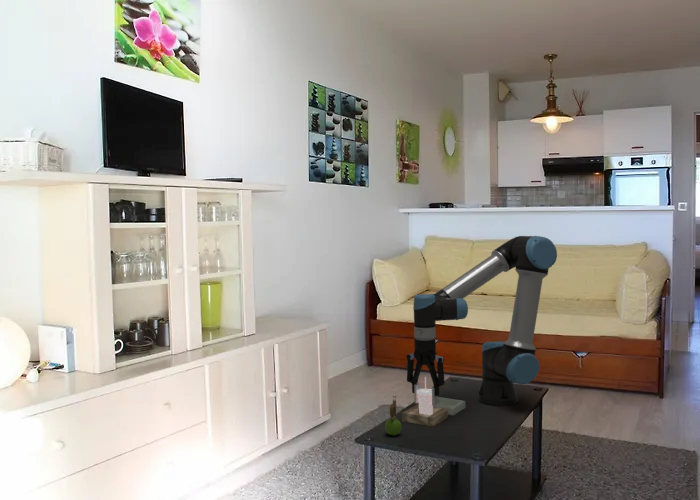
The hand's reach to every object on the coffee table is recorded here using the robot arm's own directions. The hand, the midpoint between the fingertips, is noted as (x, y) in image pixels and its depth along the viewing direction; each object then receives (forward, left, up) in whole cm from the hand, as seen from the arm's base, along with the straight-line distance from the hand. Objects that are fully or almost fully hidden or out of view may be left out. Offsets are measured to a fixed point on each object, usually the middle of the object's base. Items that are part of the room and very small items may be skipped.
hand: (425, 403), depth 225 cm
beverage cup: (0, 0, -5) cm, 5 cm away
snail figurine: (+2, +20, -6) cm, 21 cm away
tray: (-1, -15, -6) cm, 16 cm away
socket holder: (0, 0, -6) cm, 6 cm away
